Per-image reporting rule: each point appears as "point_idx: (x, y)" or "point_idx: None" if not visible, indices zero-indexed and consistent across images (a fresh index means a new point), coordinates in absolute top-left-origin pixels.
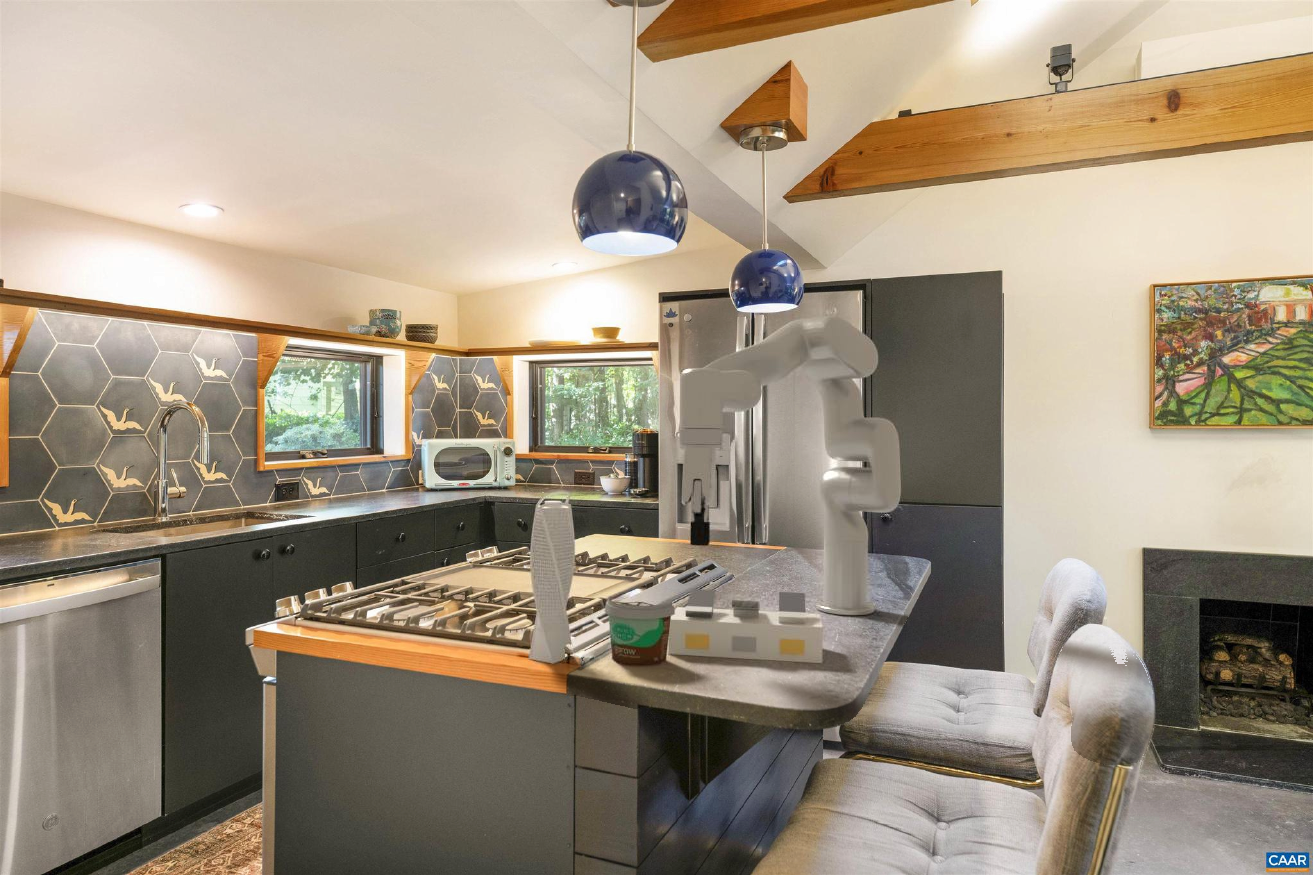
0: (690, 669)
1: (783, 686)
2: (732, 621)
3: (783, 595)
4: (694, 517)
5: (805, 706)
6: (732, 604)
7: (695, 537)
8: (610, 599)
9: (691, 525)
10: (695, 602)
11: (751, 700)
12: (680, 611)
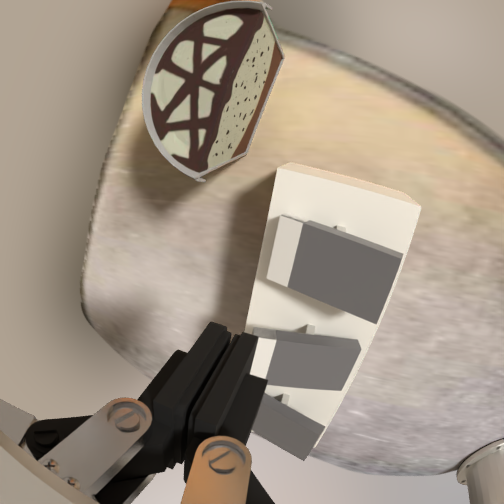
0: (196, 196)
1: (141, 310)
2: (259, 311)
3: (305, 433)
4: (81, 418)
5: (91, 308)
6: (253, 331)
7: (173, 358)
8: (257, 6)
9: (164, 389)
10: (319, 251)
11: (93, 259)
12: (368, 208)
